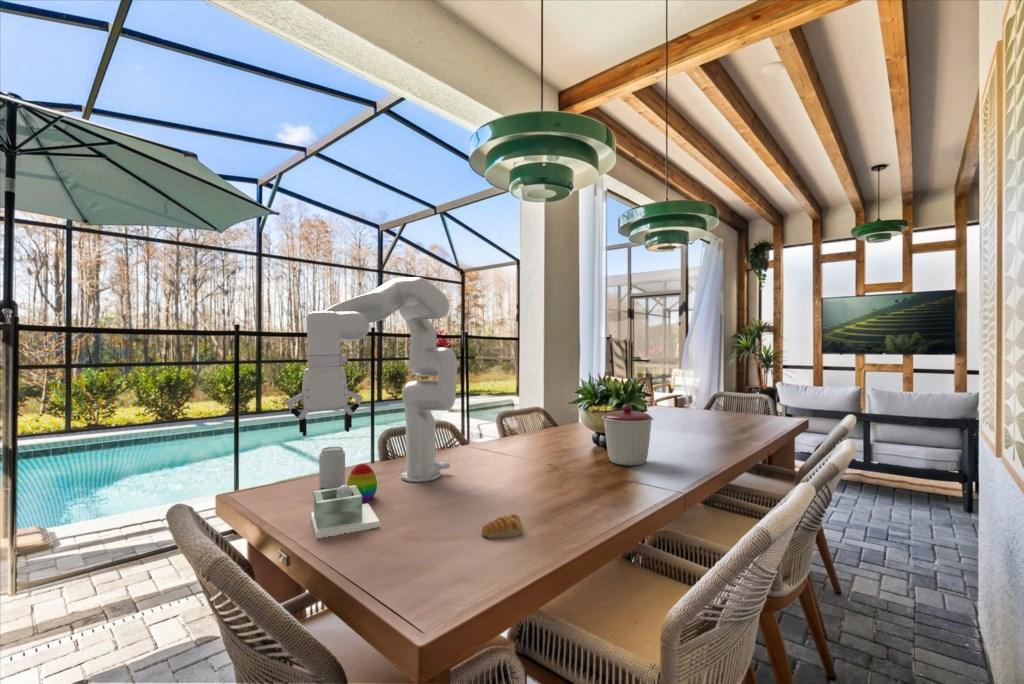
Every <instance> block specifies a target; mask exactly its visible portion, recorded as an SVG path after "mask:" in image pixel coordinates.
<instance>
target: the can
mask: <svg viewBox="0 0 1024 684" xmlns="http://www.w3.org/2000/svg"><path fill="white" fill-rule="evenodd" d="M318 461H319V462H318V463H319V466H318V467H319V471H318V472H319V474H318V475H319V477H318V478H319V479H318V480H319V482H318V483H319V487H320V488H323V489H322V490H324V489H332V488H339V487H340V486H342V485H346V452H345V450H344V447H342V446H337V445H336V446H335V445H333V446H326V447H323V448H321V452H320V453H319V455H318Z"/></svg>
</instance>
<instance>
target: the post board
mask: <svg viewBox="0 0 1024 684" xmlns="http://www.w3.org/2000/svg"><path fill="white" fill-rule="evenodd" d="M348 496H352V490H351V488H350V487H349V486H348V485H347V484H344V485H342V486H340V487H339V488H338V490H337V498H342V497H348ZM310 516H311V517H310V519H311V523H312V527H313V530H314V534H315V539H316V540H318V538H319V539H323V537H325V538H329V537H328V536H330V537H335V536H339V535H340V534H341V535H345V534H344V533H346V534H351V533H356V531H357V532H361V531H367V530H371V529H372V528H373V529H377V527H378V528H380V520H379V518H378V516H377V515H376V513H375V512H374V509H372V507H371V505H370V504H369V502H367V503H362V522H356V523H351V524H345V525H339V526H333V527H328V528H322V529H317V526H316V522H315V517H314V511H312V512H310ZM373 529H372V530H373ZM350 532H351V533H350Z"/></svg>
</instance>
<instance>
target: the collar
mask: <svg viewBox="0 0 1024 684" xmlns="http://www.w3.org/2000/svg"><path fill="white" fill-rule="evenodd" d="M349 487H350V488H351V490H352V496H348V497H342V498H337V490H338V488H332V489H318V490H313V512H314V517H315V522H316V526H317V529H322V528H328V527H333V526H339V525H345V524H351V523H356V522H362V504H363V502H362V495H361V494H360V492H359V490H358V488H357V487H356V485H353V486H349Z"/></svg>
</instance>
